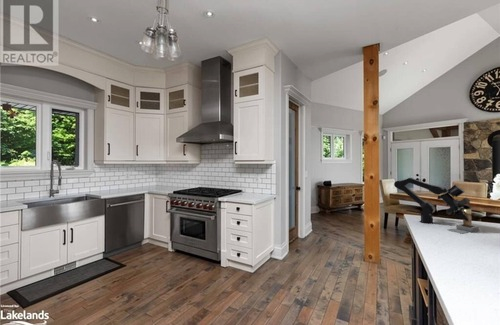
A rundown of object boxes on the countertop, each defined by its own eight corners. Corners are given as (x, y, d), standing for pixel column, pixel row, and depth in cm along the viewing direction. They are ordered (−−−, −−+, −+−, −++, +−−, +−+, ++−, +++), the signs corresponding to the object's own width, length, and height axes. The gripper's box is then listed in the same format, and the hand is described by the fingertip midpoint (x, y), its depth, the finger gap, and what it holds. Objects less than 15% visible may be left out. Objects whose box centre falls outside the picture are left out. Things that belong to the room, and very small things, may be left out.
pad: (447, 230, 151) (447, 229, 151) (453, 229, 153) (453, 228, 153) (461, 233, 143) (461, 233, 143) (468, 232, 146) (468, 231, 146)
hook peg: (461, 229, 151) (461, 209, 151) (465, 229, 153) (465, 208, 153) (469, 231, 148) (469, 210, 148) (473, 230, 149) (472, 209, 149)
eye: (456, 229, 153) (456, 224, 153) (463, 227, 155) (463, 223, 155) (471, 232, 145) (471, 228, 145) (478, 231, 148) (478, 226, 148)
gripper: (451, 194, 151) (472, 214, 140) (468, 193, 157) (489, 212, 146) (438, 204, 158) (457, 224, 148) (454, 202, 164) (474, 221, 154)
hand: (469, 220), depth 149 cm, fingers closed on hook peg, 4 cm apart
